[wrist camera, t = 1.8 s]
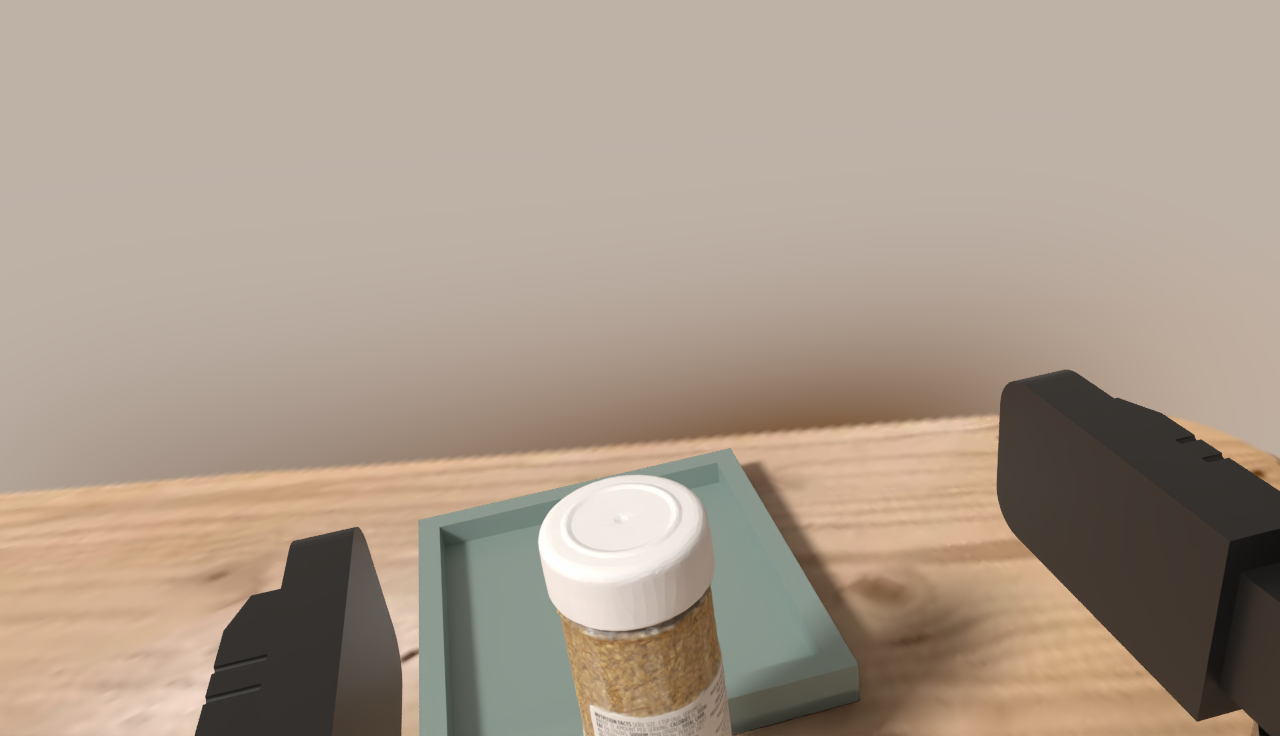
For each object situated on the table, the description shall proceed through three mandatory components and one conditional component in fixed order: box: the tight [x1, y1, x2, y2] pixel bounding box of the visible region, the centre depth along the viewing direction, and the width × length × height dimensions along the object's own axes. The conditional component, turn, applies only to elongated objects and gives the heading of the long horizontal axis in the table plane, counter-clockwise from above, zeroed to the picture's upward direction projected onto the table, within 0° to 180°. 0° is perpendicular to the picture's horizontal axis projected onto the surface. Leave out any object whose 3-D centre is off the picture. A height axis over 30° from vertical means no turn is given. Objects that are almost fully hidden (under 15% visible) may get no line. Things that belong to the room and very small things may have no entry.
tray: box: [419, 448, 860, 736], centre depth 41 cm, size 16×16×2 cm
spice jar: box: [538, 475, 732, 736], centre depth 28 cm, size 5×5×13 cm
